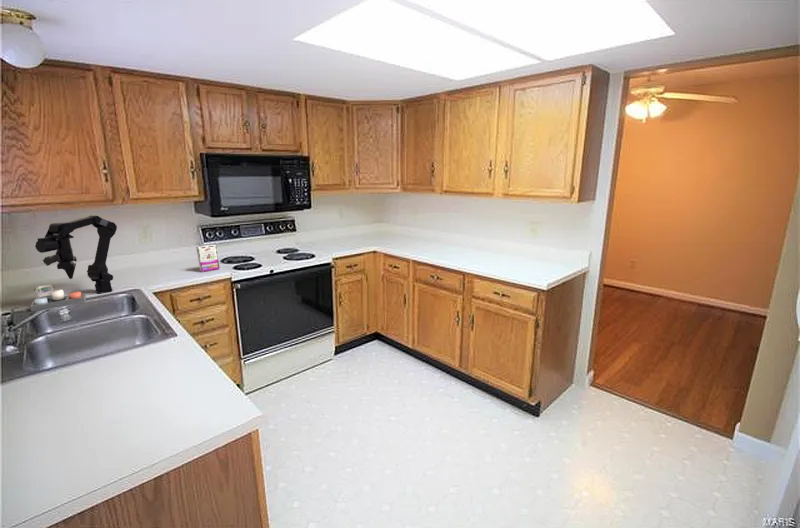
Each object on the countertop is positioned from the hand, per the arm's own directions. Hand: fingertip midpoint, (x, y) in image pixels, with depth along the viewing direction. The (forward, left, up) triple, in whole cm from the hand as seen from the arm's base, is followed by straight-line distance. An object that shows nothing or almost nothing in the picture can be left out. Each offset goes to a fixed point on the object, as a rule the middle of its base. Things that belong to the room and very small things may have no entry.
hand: (71, 278), depth 189 cm
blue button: (+13, 0, -12) cm, 17 cm away
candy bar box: (-67, -23, -12) cm, 72 cm away
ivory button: (+6, 0, -9) cm, 11 cm away
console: (+6, 0, -12) cm, 14 cm away
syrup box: (+14, -16, -10) cm, 24 cm away
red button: (0, 0, -12) cm, 12 cm away
